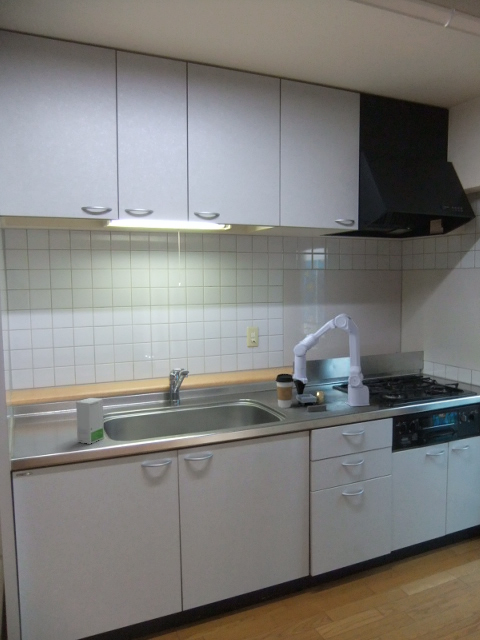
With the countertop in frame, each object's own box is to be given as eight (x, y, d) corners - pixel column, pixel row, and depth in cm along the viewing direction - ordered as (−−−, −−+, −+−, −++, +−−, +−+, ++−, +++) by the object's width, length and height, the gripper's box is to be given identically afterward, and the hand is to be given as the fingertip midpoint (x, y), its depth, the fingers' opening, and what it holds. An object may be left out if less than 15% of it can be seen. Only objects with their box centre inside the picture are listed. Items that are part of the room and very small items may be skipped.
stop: (325, 409, 222) (325, 404, 222) (326, 410, 221) (326, 405, 221) (307, 411, 220) (307, 406, 219) (308, 412, 219) (308, 406, 218)
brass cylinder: (321, 401, 236) (321, 390, 236) (324, 403, 233) (325, 392, 232) (314, 402, 235) (314, 391, 235) (317, 404, 232) (317, 393, 231)
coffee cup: (294, 404, 231) (294, 373, 230) (291, 409, 223) (291, 377, 222) (277, 403, 234) (277, 373, 232) (274, 408, 226) (274, 376, 224)
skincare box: (90, 445, 177) (88, 403, 176) (76, 442, 180) (74, 401, 179) (105, 438, 185) (103, 398, 184) (91, 435, 188) (90, 396, 186)
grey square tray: (310, 401, 237) (310, 393, 237) (316, 405, 230) (316, 397, 229) (296, 402, 235) (296, 395, 235) (301, 406, 228) (301, 398, 227)
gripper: (287, 365, 245) (287, 392, 246) (298, 371, 231) (297, 398, 232) (300, 365, 246) (300, 391, 248) (311, 370, 232) (311, 397, 234)
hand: (300, 394), depth 240 cm, fingers closed
